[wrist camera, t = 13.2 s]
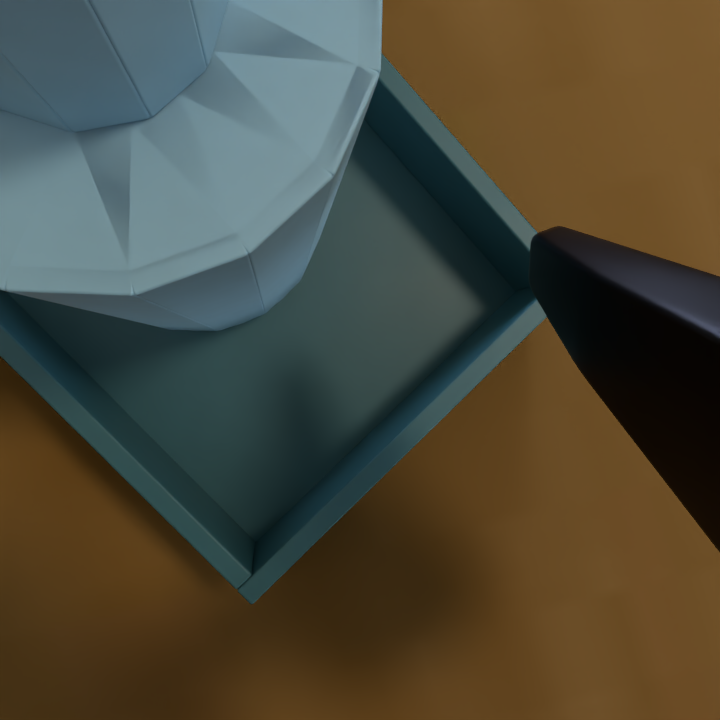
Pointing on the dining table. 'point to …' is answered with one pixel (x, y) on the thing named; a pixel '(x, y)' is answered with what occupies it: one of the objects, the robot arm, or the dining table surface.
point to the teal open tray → (303, 354)
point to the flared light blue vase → (175, 149)
